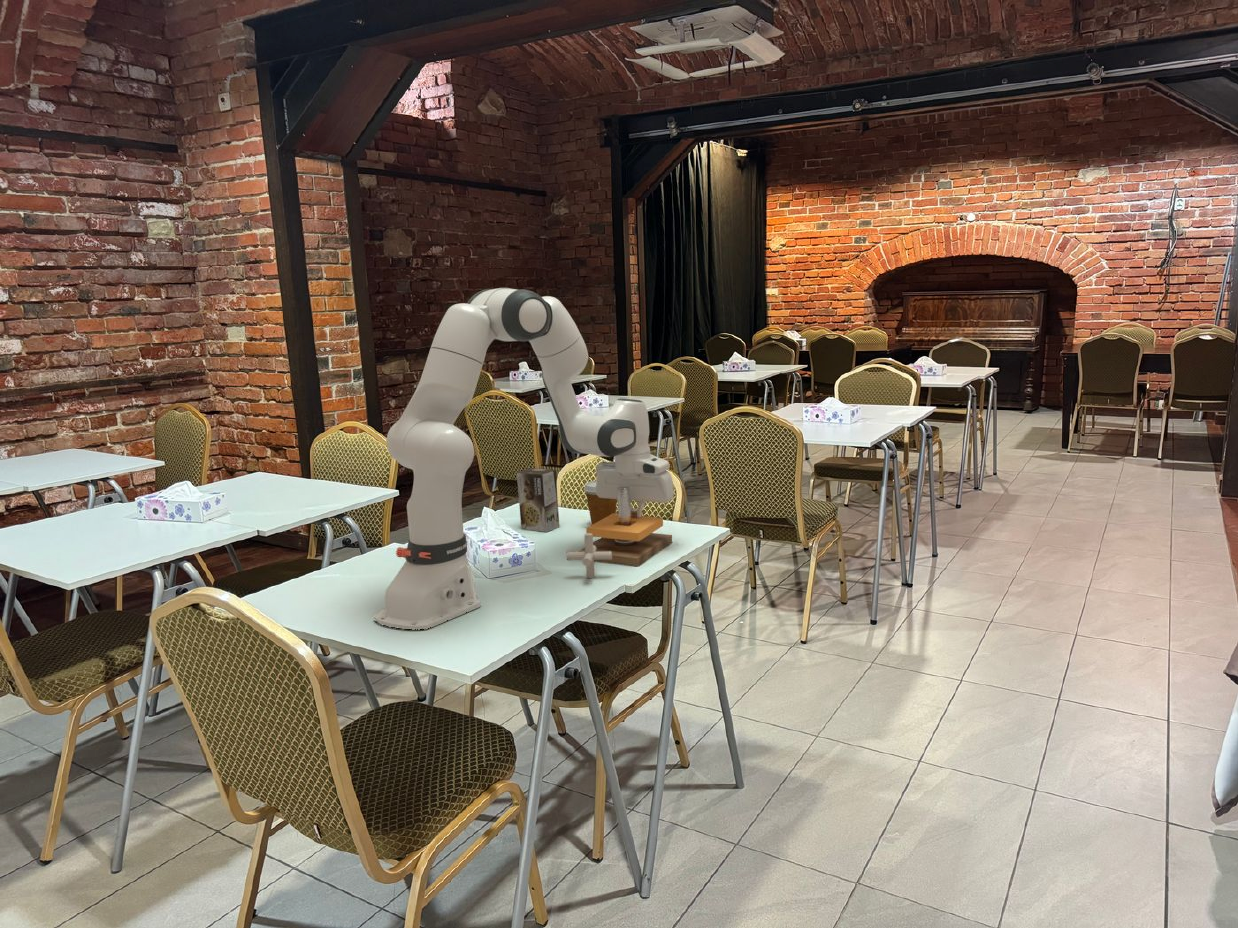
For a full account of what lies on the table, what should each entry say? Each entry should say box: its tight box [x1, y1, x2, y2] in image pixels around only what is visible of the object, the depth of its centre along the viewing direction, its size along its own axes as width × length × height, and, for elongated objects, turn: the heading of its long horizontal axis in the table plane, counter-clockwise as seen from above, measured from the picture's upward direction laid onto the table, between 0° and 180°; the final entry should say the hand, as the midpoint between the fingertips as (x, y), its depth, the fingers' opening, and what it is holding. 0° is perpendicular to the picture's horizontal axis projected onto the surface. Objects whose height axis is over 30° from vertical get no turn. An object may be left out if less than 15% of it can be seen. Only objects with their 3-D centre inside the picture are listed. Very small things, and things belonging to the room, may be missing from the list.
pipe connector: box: [566, 532, 612, 579], centre depth 191 cm, size 10×10×10 cm
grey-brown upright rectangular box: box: [516, 467, 560, 533], centre depth 232 cm, size 9×6×16 cm
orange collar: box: [585, 513, 664, 541], centre depth 208 cm, size 14×14×2 cm
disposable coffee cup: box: [583, 479, 618, 525], centre depth 231 cm, size 10×10×12 cm
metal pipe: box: [614, 486, 637, 546], centre depth 208 cm, size 6×6×14 cm
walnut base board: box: [577, 532, 673, 567], centre depth 209 cm, size 20×16×2 cm
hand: (635, 516), depth 213 cm, fingers closed, pressing on orange collar
